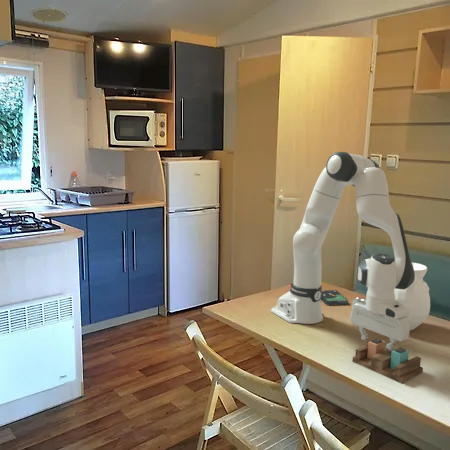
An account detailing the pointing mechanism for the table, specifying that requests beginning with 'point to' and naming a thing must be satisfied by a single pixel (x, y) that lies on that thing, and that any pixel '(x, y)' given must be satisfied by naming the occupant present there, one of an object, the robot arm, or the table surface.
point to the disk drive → (333, 298)
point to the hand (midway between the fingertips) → (376, 344)
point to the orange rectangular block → (375, 347)
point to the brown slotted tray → (388, 364)
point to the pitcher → (415, 297)
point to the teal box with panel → (398, 357)
